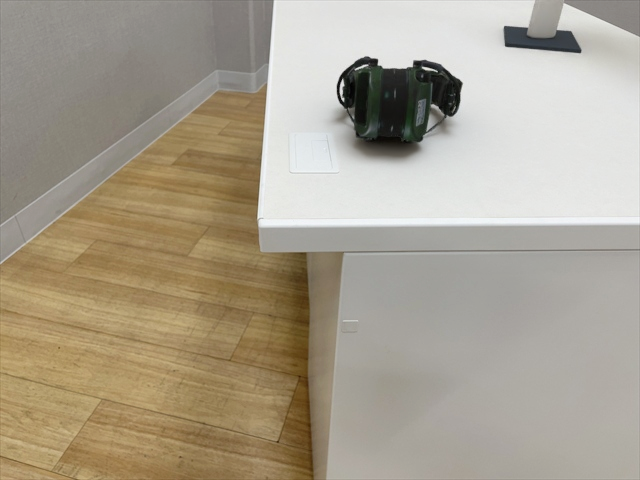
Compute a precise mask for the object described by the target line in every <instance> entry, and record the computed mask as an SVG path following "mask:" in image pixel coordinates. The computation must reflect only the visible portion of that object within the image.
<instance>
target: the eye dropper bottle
mask: <svg viewBox="0 0 640 480" xmlns="http://www.w3.org/2000/svg"><path fill="white" fill-rule="evenodd" d="M564 4H565V0H534V3H533V7H532V11H531V13H530V14H531V15H530V19H529V23H528V27H527V28H528V31H527V36H529V37H531V38H537V39H546V38H553V37H554V36H555V34H556V30H558V26H559V23H560V19H561V16H562V11H563V7H564Z"/></svg>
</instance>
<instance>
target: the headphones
mask: <svg viewBox="0 0 640 480" xmlns="http://www.w3.org/2000/svg"><path fill="white" fill-rule="evenodd" d="M363 66H364V67H363ZM360 67H361V68H360ZM424 68H427V69H424ZM342 81H343V86H342V88H341V84H342ZM463 84H464V82H463V81H462V80H461V79H460V78H458V77H456V76H455V75H454V74H452V73H451V72H450V71H449V70H448V69H446V68H445V67H444V65H442V63H438V62H436V61H435V62H434V61H431V60H427V59H421V60H419V59H414V60H413V61H412V66H407V67H406V68H402V67H401V68H397V67H389V68H388V67H387V68H385V67H383V65H379V59H378V58H375V57H370V56H367V55H365V56H364V57H360V58H357V60H355V61H354V62H353V63H352V64H351V65H348V67H346V68H345V69H344V70H343V71H342V72H341V74H339V77H338V80H337V83H336V97H337V100H338V103H339V104H340V105H341V106H342V107H343V109H344V110H345V111H346V113H347V115H348V118H349V119H350V121H351V122H352V124H353V130H354V131H355V137H356V139H359V140H363V141H368V142H369V141H372V140H373V141H376V140H377V138H378V137H379V136H381V137H385V138H388V137H389V138H390V137H400V139H401V142H405V143H407V144H413V143H421V142H422V141H423V140H424V136H425V135H427V134H429V133H431V132H432V131H433V130H435V129H436V128H437V127H439V126H440V125H441V124H442V123H443V122H444V120H445V119H447V117H449V118H452V117H453V118H454V116H455V115H456V114H457V113H458V111H459V108H460V106H461V101H462V100H461V99H462V97H461V96H462V94H461V92H462V88H463ZM341 90H342V95H341ZM432 105H434V106H435V107H437V108H438V110H440V113H442V114H443V117H442V118H441V119H440V120H439V121H438V122H437V123H435V124H434V125H433V126H432V127H430V128H429V129H428V126H429V125H428V124H429V120H430V113H431V107H432ZM349 109H350V110H352V109H353V115H352V114H351V112H350V111H349Z"/></svg>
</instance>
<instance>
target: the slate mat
mask: <svg viewBox="0 0 640 480" xmlns="http://www.w3.org/2000/svg"><path fill="white" fill-rule="evenodd" d="M527 31H528V27H526V26H525V27H524V26H513V25H504V26H503V37H504V46H505V47H510V48H523V49H534V50H544V51H555V52H556V51H557V52H564V53H565V52H566V53H578V54H581V53H582V48H581V46H580V45H579V42H578V41H577V39H576V37H575V35H574V33H573V32H572V30H564V29H563V30H562V29H557V30H556V34H555V36H554V37H553V38H546V39H537V38H531V37H529V36H527Z"/></svg>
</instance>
